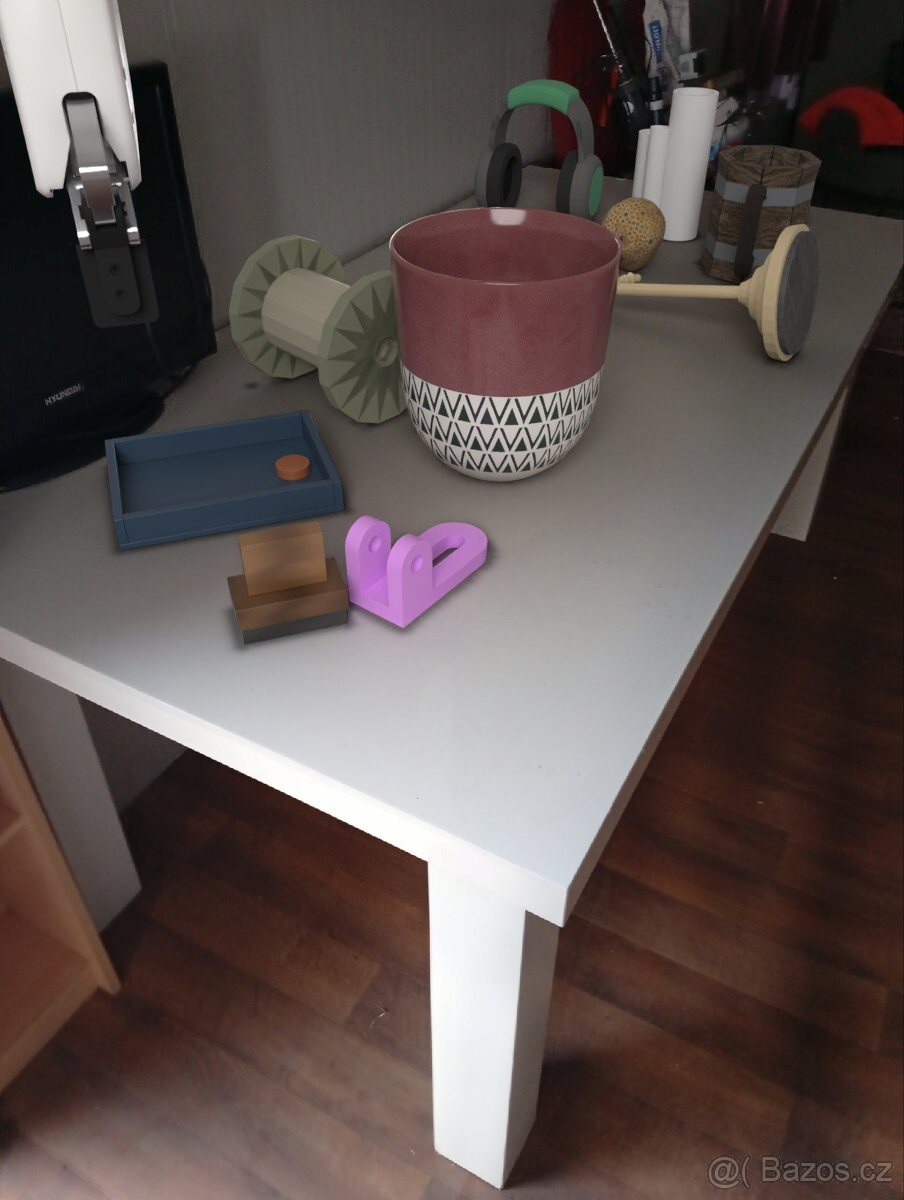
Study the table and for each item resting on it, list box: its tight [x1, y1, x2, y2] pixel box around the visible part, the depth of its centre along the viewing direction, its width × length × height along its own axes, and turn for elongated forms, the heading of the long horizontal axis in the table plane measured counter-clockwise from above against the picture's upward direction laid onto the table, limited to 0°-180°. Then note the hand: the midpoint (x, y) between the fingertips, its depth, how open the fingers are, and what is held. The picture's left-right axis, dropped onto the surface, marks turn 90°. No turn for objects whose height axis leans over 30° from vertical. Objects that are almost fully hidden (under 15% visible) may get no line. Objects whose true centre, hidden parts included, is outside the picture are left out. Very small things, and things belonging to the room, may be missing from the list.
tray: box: [104, 409, 345, 551], centre depth 88 cm, size 20×15×3 cm
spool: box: [228, 234, 408, 424], centre depth 100 cm, size 16×15×15 cm
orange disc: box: [276, 455, 310, 480], centre depth 90 cm, size 3×3×1 cm
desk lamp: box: [616, 224, 820, 362], centre depth 112 cm, size 15×35×40 cm
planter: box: [389, 207, 623, 482], centre depth 86 cm, size 20×20×21 cm
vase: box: [631, 86, 720, 242], centre depth 143 cm, size 11×7×20 cm, turn 61°
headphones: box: [473, 78, 605, 222], centre depth 148 cm, size 19×11×20 cm, turn 66°
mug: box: [700, 144, 823, 285], centre depth 130 cm, size 20×14×15 cm
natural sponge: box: [600, 197, 666, 272], centre depth 133 cm, size 9×9×10 cm
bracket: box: [344, 514, 488, 629], centre depth 76 cm, size 13×6×7 cm, turn 143°
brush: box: [226, 520, 350, 646], centre depth 72 cm, size 8×4×8 cm, turn 109°
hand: (121, 289), depth 52 cm, fingers open, 9 cm apart
